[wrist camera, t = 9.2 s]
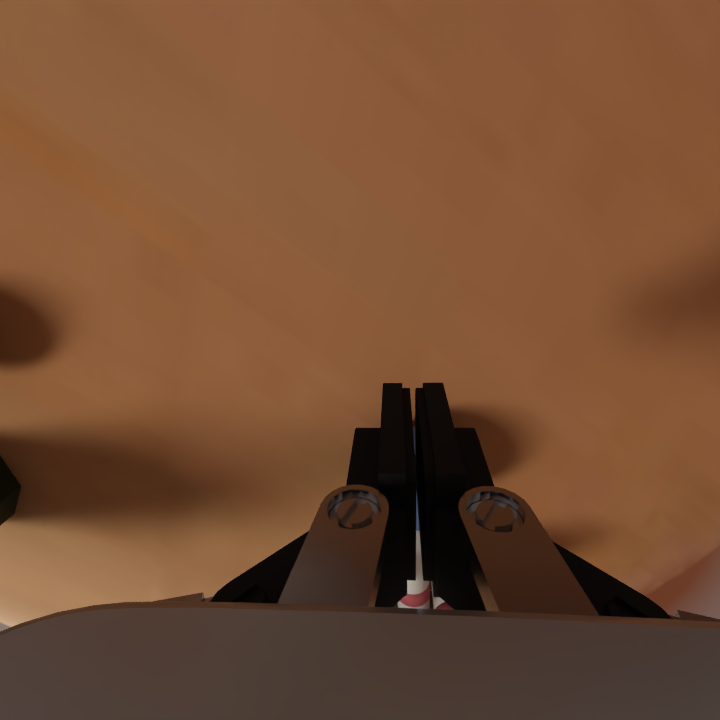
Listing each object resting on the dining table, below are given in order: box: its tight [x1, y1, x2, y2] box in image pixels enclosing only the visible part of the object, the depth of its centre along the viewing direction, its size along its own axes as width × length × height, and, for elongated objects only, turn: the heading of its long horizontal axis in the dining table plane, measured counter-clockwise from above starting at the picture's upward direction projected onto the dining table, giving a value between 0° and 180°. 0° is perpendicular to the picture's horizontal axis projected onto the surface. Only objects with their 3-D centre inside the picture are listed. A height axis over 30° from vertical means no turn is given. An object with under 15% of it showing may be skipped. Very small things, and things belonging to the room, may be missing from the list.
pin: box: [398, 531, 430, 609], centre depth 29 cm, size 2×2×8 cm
